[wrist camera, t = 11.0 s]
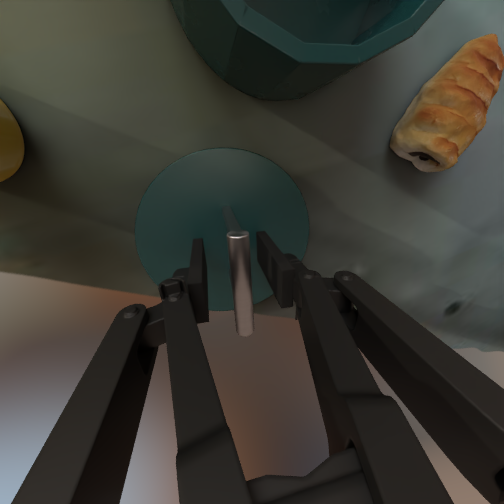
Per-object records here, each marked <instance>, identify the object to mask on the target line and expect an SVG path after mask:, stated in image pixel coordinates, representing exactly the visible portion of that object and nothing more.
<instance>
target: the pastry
mask: <svg viewBox="0 0 504 504" xmlns="http://www.w3.org/2000/svg"><path fill="white" fill-rule="evenodd" d="M503 68H504V56H503V54H502V51H501V48H500V47H499V45H498V39H497V35H496V34H489V35H485V36H483V37H480V38H477V39H474V40H471V41H469V42H467V43H466V44H465V45H464V46H463V47H462V48H461V49H460V50H459V51H458V52H457V53H456V54H455V55H454V56H453V57H452V58H451V59H450V60H449V62H447V63H446V64H445V65H444V66H443V67H442V68H441V69H440V70H439V71H438V72H437V73H436V74H435V75H434V76H433V77H432V78H431V79H430V80H429V81H427V82H426V83H425V84H424V85H423V86H422V87H421V89H420V92H419V93H418V94H417V96H416V97H415V98H414V99H413V100H412V102H411V104H410V105H409V107H408V108H407V109H406V112H405V114H404V115H403V117H402V118H401V119H400V120H399V122H398V123H397V125H396V126H395V128H394V130H393V133H392V137H391V140H390V147H391V149H392V150H393V151H394V152H395V153H396V154H397V155H398V156H399V157H402V158H404V159H406V160H410V161H412V163H413V164H414V166H415V167H416V168H417V169H419V170H421V171H424V172H436V171H443V170H445V169H449V168H451V167H452V166H454V164H456V163H457V161H458V160H457V158H458V157H459V156H460V155H461V154H462V153H463V152H464V150H465V149H466V148H467V147H468V146H469V145H470V144H471V143H472V141H473V140H474V138H475V136H476V135H477V134H478V133H479V132H480V131H481V130H482V128H483V127H484V126H485V124H486V114H487V110H488V108H489V106H490V103H491V100H492V98H493V97H494V95H495V94H496V93H497V91H498V88H499V81H500V79H501V75H502V71H503Z"/></svg>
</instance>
